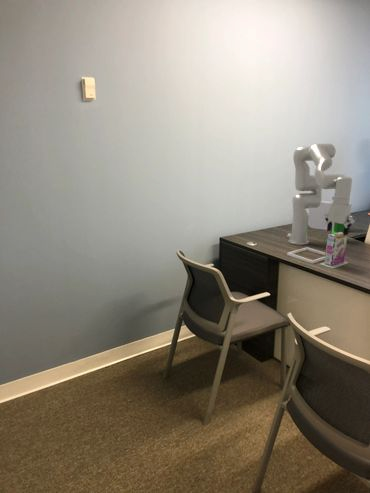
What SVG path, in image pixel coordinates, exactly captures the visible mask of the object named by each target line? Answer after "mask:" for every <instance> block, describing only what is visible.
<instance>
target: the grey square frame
mask: <svg viewBox="0 0 370 493" xmlns="http://www.w3.org/2000/svg"><path fill="white" fill-rule="evenodd" d="M306 251H309V252H312V253H315V254H318V255H322V257H319V258H316V259H315V258H314V259H309V258H307V257H303V256H300V255H298V253H302V252H306ZM325 253H326V251H323V250H319V249H315V248H311V247H309V246H306V247H303V248H300V249H299V248H298V249H295V250H292V251H288V252H287V253H286V255H287V256H289V257H291V258H295V259H298V260H301V261H303V262H307V263H310V264H317V263H319V262H323V261H325Z"/></svg>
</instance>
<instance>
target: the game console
mask: <svg viewBox="0 0 370 493" xmlns="http://www.w3.org/2000/svg"><path fill="white" fill-rule="evenodd" d="M332 202H333V201H327V200H321V204H320V206H319V207H318V208H308V228H310V229H315V230H325V231H327V225H328V224H327V221H326V220H325V216H324V215H325V214H327V213H329V210H330V207H331V204H332ZM349 204H350V212H351V210H352V203H351V202H349ZM333 230H334V222H332V230H331V232H332V231H333Z"/></svg>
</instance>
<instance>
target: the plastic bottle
mask: <svg viewBox="0 0 370 493" xmlns="http://www.w3.org/2000/svg"><path fill="white" fill-rule="evenodd" d="M344 228H345V226H344V224H339V223H335V222H334V230H333V231H331V234H334V233H338V232H342V233H343V232H344Z"/></svg>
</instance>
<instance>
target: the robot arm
mask: <svg viewBox="0 0 370 493" xmlns="http://www.w3.org/2000/svg"><path fill="white" fill-rule="evenodd" d="M336 152H337V151H336V148H335V146H334V145H333V144H332V143H315V144H313V145H310V146H300V147H297V148H296V149H295V150H294V152H293V163H294V164H293V165H294V168H295V169H294V170H295V176H294V179H295V180H294V185H295V189H296V191H298V192H304V193H297V194H295V195H293V197H292V200H291V201H292V224H291V226H292V227H291V233H290V232H289V233H287V235H286V237H288V238H289V239H288V243H290V244H291V245H292V244H293V245H298V246H300V245H301V246H305V245H308V244H310V243H309V242H310V241H309V239H307V237H308V228H309V225H308V218H309V212H307V210H306V209H308V210H309V208H318V207H319V206H320V204H321V201H322V190H334V194H333V197H332V200H333V201H331V202H332V204H331V207H330V210H329V213H327V214H325V215H324V216H325V220H326V221H327V224H328V225H327V230H326V231H327V232H330V231H331V230H332V222H335V223H339V224H344V226H345V228H344V232H343V235H348V234H349V232H350V231H349V230H350V228H351V227H352V226H354V224H355V222H356V220H355V219H354V218H353V217H351V211H350V204H349V203H350V200H351V199H350V198H351V192H352V183H353V179H352V177H350V176H346V175H344V174H339V173H338V174H337V173H336V174H325V172H326V171H327V170H329V169H330V168H331V167H332V165H333V158H334V157H335V155H336ZM308 162H313V163H314V165H315V166H316V168H315V170H314V174H310V172H311V171H310V170H311V168H310V166H309V163H308ZM305 192H306V193H305ZM307 192H308V193H307ZM331 232H332V231H331ZM348 236H349V235H348Z"/></svg>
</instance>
